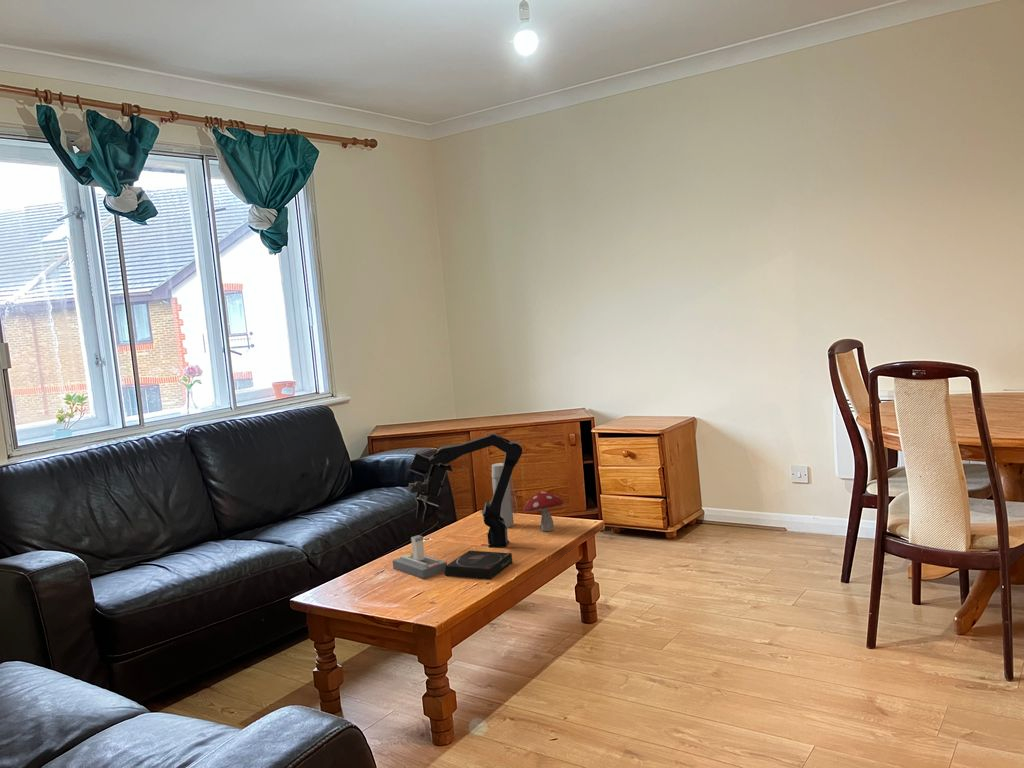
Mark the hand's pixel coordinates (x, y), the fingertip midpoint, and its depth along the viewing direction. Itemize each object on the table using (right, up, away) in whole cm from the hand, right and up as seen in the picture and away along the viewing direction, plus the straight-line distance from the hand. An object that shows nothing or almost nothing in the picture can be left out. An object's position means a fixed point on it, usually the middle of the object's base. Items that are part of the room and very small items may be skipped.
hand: (420, 520), depth 287 cm
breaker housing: (+1, -14, -14) cm, 20 cm away
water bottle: (+31, -8, +32) cm, 45 cm away
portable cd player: (+22, -14, -19) cm, 32 cm away
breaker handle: (+1, -11, -14) cm, 18 cm away
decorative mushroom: (+46, -7, +21) cm, 51 cm away
